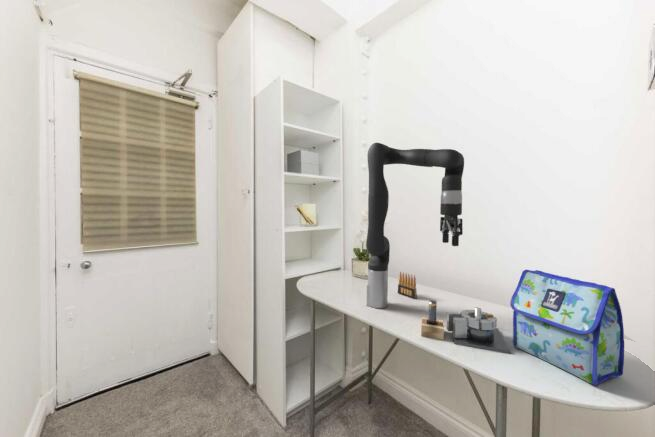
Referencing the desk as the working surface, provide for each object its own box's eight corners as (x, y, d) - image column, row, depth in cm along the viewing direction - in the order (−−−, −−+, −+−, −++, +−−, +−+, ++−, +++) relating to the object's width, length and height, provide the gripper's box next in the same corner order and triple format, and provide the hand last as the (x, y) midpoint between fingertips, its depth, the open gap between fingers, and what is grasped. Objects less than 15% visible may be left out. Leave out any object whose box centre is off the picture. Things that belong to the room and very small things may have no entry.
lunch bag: (504, 348, 85) (507, 270, 84) (537, 338, 91) (540, 266, 90) (593, 393, 65) (598, 291, 63) (627, 377, 71) (632, 284, 69)
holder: (421, 336, 93) (421, 325, 93) (421, 327, 100) (422, 317, 100) (443, 340, 90) (443, 328, 90) (442, 330, 97) (442, 320, 97)
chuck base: (454, 343, 88) (455, 313, 87) (450, 323, 103) (451, 298, 102) (510, 353, 82) (511, 321, 81) (497, 331, 97) (498, 303, 96)
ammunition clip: (416, 298, 131) (417, 275, 130) (414, 299, 130) (414, 275, 129) (399, 292, 140) (400, 270, 139) (397, 293, 139) (397, 271, 138)
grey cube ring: (444, 326, 98) (444, 308, 97) (483, 326, 98) (483, 308, 97) (458, 341, 87) (458, 321, 86) (502, 341, 87) (503, 321, 86)
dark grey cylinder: (427, 331, 96) (427, 300, 96) (434, 331, 96) (435, 300, 96) (429, 335, 94) (430, 302, 93) (437, 335, 94) (437, 302, 93)
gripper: (434, 202, 107) (433, 241, 108) (449, 202, 93) (448, 247, 93) (452, 202, 107) (451, 241, 107) (470, 202, 92) (469, 247, 93)
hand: (450, 244), depth 100 cm, fingers open, 8 cm apart
